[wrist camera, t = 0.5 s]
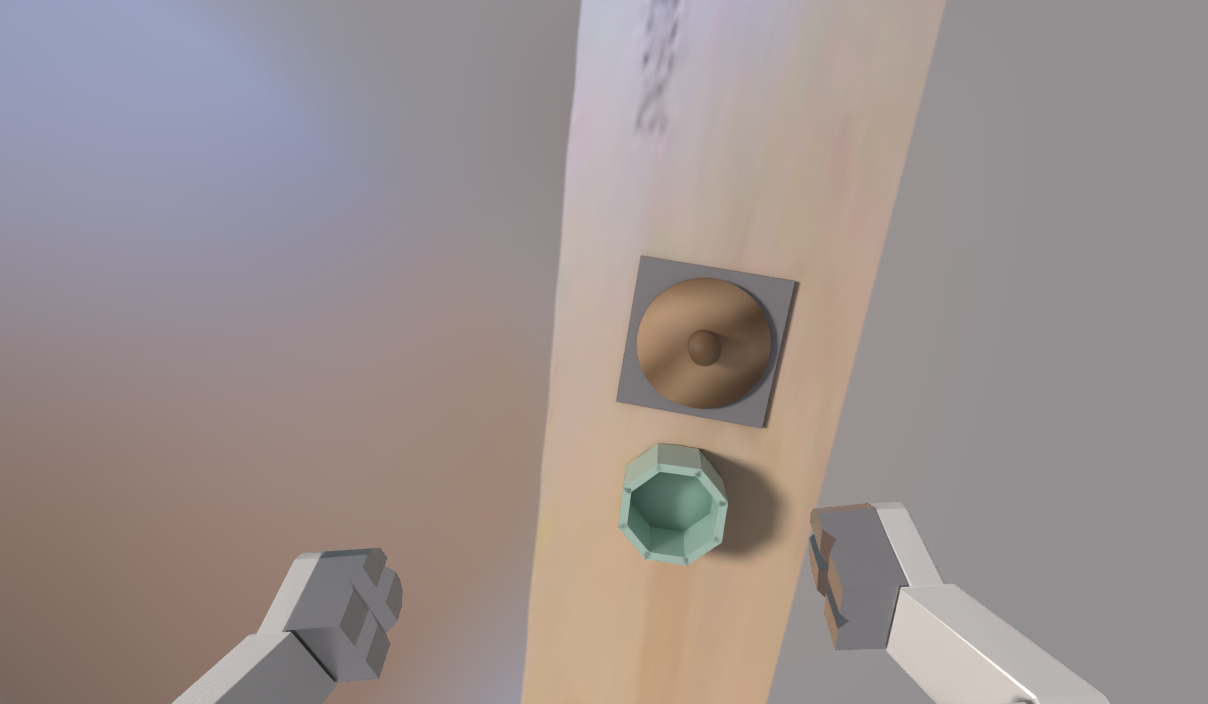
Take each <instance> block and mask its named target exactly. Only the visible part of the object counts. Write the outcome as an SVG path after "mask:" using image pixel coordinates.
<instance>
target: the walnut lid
mask: <svg viewBox="0 0 1208 704" xmlns="http://www.w3.org/2000/svg"><path fill="white" fill-rule="evenodd" d="M770 348H771V337H770V330H769V326H768V323H767V320H766V318H765V315H764V313H763V311H762V310H761V308H760V307H759V305H758V304H757V303H756V302H755V300H754V299H753V298H752V297H751V296H750V295H748V294H747V293H746V292H745V291H743V290H742V289H740V288H739V287H737V286H735V285H733V284H731V283H729V282H726V281H723V280H719V279H714V278H694V279H689V280H685V281H682V282H679V283H677V284H675V285H673V286H671V287H669V288H668V289H666V290H665V291H663V292H662V293H661V294H660V295H658V296H657V297H656V298H655V299H654V301H653V302H652V303H651V304H650V305H649V307H648V308H647V310H646V312H645V314H644V316H643V318H642V320H641V323H640V326H639V330H638V335H637V354H638V359H639V363H640V366H641V368H642V371H643V373H644V374H645V376H646V378H647V379H648V381H649V382H650V384H651V385H652V386H653V387H654V388H655V389H656V390H657V391H658V392H659V393H660V394H661V395H663V396H664V397H666V398H667V399H669V400H670V401H673V402H675V403H677V404H679V405H683V406H686V407H691V408H699V409H706V408H715V407H720V406H723V405H726V404H729V403H731V402H733V401H736V400H737V399H739V398H740V397H742V396H743V395H745V394H746V393H747V392H748V391H750V390H751V389H752V387H753V386H754V385H755V384H756V383H757V382H758V380H759V379H760V377H761V376H762V374H763V372H764V370H765V368H766V365H767V363H768V359H769V355H770Z"/></svg>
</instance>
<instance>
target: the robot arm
mask: <svg viewBox="0 0 1208 704" xmlns="http://www.w3.org/2000/svg"><path fill="white" fill-rule="evenodd" d="M810 523H811V526H812V529H813V532H814V534H813V535H812V536H811V537H810V538H809V555H810V564H811V569H812V573H813V577H814V581H815V584H816V588H817V590H818V591H819V592H820V593H821V594H822V595H823V596H824V597H826V598H825V610H824V615H825V618H826V621H827V624H828V628H829V631H830V634H831V637H832V641H833V644H834V647H835V650H855V649H884V648H887V652H888V653H889V654H890V655H891V656H892V657H893V658H894V659H895V660H896V661H897V663H899V664H900V666H901V667H902V668H903V669H904V670H905V671H906V672H907V673H908V674H909V675H910V676H911V677H912V678H913V679H914V680H915V681H916V682H917V683H918V684H919V685H920V687H921V688H922V689H923V690H924V691H925V692H926V693H927V694H928V695H929V696H930V697H931V698H932V699H933V700H934V701H935V702H936V703H937V704H1110V703H1109V702H1108V700H1107V699H1106V697H1105V696H1104V695H1103V694H1102V693H1100V692H1099V691H1097V690H1096V689H1095V688H1094V687H1092V686H1091V685H1090V684H1088V683H1087V682H1086V681H1084V680H1083V679H1081V678H1080V677H1079V676H1077V675H1076V674H1075V673H1073V672H1072V671H1071V670H1069V669H1068V668H1067V667H1065V666H1064V665H1063V664H1061V663H1060V662H1059V661H1057V660H1056V659H1055V658H1053V657H1052V656H1051V655H1049V654H1048V653H1047V652H1045V651H1044V650H1043V649H1041V648H1040V647H1039V646H1037V645H1036V644H1035V643H1033V642H1032V641H1031V640H1029V639H1028V638H1027V637H1025V636H1024V635H1023V634H1021V633H1020V632H1018V631H1017V630H1016V629H1014V628H1013V627H1012V626H1010V625H1009V624H1008V623H1006V622H1005V621H1004V620H1002V619H1001V618H1000V617H998V616H997V615H996V614H994V613H993V612H992V611H990V610H989V609H988V608H986V607H985V606H984V605H982V604H981V603H980V602H978V601H977V600H975V599H974V598H973V597H972V596H970V595H969V594H967V593H966V592H965V591H964V590H962V589H961V588H959V587H958V586H957V585H956V584H954V583H953V584H945V583H944V581H943V579H942V577H941V575H940V573H939V571H938V569H937V567H936V565H935V563H934V561H933V559H932V557H931V556H930V553H929V552H928V549H927V547H926V546H925V543H924V542H923V540H922V537H921V536H920V533H919V531H918V529H917V528H916V525H915V523H914V522H913V520H912V518H911V516H910V514H909V512H908V510H907V508H906V506H905V505H904V504H903V503H902V502H901V501H895V502H884V503H874V504H868V503H866V504H856V505H847V506H836V507H826V508H817V509H813V510H812V512H811V518H810ZM386 560H387V557H386V556H385V554H384V553H383V551H382V550H381V548H369V549H354V550H338V551H321V552H309V553H302V554H301V555H300V556H299V557H298V558H297V559H296V560H295V561H294V562H293V564H292V566H291V568H290V570H289V572H288V574H287V576H286V578H285V580H284V582H283V584H282V586H281V588H280V590H279V591H278V594H277V595H276V597H275V599H274V602H273V603H272V605H271V607H270V609H269V611H268V613H267V615H266V617H265V619H264V621H263V623H262V625H261V627H260V629H259V630H258V633H257V634H250V635H248V636H247V637H246V638H245V639H244V640H243V641H242V642H241V643H239V645H237V646H236V647H235V648H234V649H233V650H232V651H230V652H229V653H228V654H227V655H226V656H225V657H224V658H223V659H222V660H221V661H219V662H218V663H217V664H216V665H215V666H214V667H213V668H211V669H210V670H209V671H208V672H207V673H206V674H205V675H203V677H201V678H200V679H199V680H198V681H197V682H196V683H194V684H193V685H192V686H191V687H190V688H189V689H188V690H187V691H185V692H184V693H183V694H182V695H181V696H180V697H179V698H177V699H176V700H175V701H174V702H173V703H172V704H322V703H323V702H324V701H325V699H326V698H327V697H328V695H329V694H330V693H331V692H332V691H333V689H334V688H335V687H336V683H339V682H349V681H360V680H371V679H379V677H380V674H381V671H382V668H383V665H384V662H385V659H386V655H387V652H388V649H389V646H390V642H389V639H388V636H387V634H386V632H387V631H388V630H389V629H390V628H391V627H392V626H393V625H394V624H395V623H396V622H397V621H398V617H399V614H400V610H401V607H402V592H403V590H402V586H401V581H400V579H399V577H398V575H397V573H396V572H395V571H393V570H391V569H389V568H388V567H386V566H385V563H386Z"/></svg>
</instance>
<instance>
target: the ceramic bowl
mask: <svg viewBox="0 0 1208 704" xmlns="http://www.w3.org/2000/svg"><path fill="white" fill-rule="evenodd" d="M727 507H728V499H727V495H726V491H725V487H724V482H723V479H722V478H721V476H720V475H719V474H718V473H717V472H716V470H715V469H714V467H713V466H712V464H711V463H710V462H709V461H708V460H707V459H706V458H705V457H704V455H703V454H702V453H701V452H700V450H699V449H697V448H689V447H686V446H682V445H676V444H660V443H658V444H656V445H655V446H654V447H652V448H651V449H649V450H647V451H645V452H644V453H642V454H641V455H640V456H639V457H638V458H637V459H636V460H634V461H633V462H631V463H630V464H629V465H627V467H626V473H625V479H624V485H623V494H622V502H621V511H620V519H619V526H618V528H619V529H620V530H621V531H622V532H623V533H624V535H625V536H626V537H627V538H628V539H629V541H630V542H631V543H632V544H633V545H634V547H635V548H636V549H637V550H638V551H639V553H640V554H641V555H642V556H643V557H644V559H648V560H654V561H661V562H668V563H674V564H681V565H689V564H690V563H692V562H693V561H695V560H696V559H698V558H699V557H701V556H702V555H704V554H705V553H707V552H708V551H710V550H711V549H713V548H714V547H716V546H717V545H719V544H720V543H722V538H723V532H724V525H725V519H726V513H727Z"/></svg>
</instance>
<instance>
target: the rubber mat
mask: <svg viewBox="0 0 1208 704" xmlns="http://www.w3.org/2000/svg"><path fill="white" fill-rule="evenodd" d="M694 278H714V279H719V280H723V281H726V282H729V283H731V284H733V285H735V286H737V287H739V288H740V289H742V290H743V291H745V292H746V293H747V294H748V295H750V296H751V297H752V298H753V299H754V300H755V302H756V303H757V304H758V305H759V307H760V308H761V310H762V311H763V313H764V315H765V318H766V320H767V323H768V326H769V330H770V337H771V348H770V355H769V359H768V363H767V365H766V368H765V370H764V372H763V374H762V376H761V377H760V379H759V380H758V382H757V383H756V384H755V385H754V386H753V387H752V389H751V390H750V391H748V392H747V393H746V394H745V395H743V396H742V397H740V398H739V399H737V400H736V401H733V402H731V403H729V404H726V405H723V406H720V407H715V408H706V409H699V408H691V407H686V406H683V405H679V404H677V403H675V402H673V401H670V400H669V399H667V398H666V397H664V396H663V395H661V394H660V393H659V392H658V391H657V390H656V389H655V388H654V387H653V386H652V385H651V384H650V382H649V381H648V379H647V378H646V376H645V374H644V373H643V371H642V368H641V366H640V363H639V359H638V354H637V335H638V330H639V326H640V323H641V320H642V318H643V316H644V314H645V312H646V310H647V308H648V307H649V305H650V304H651V303H652V302H653V301H654V299H655V298H656V297H657V296H658V295H660V294H661V293H662V292H663V291H665V290H666V289H668V288H669V287H671V286H673V285H675V284H677V283H679V282H682V281H685V280H689V279H694ZM794 284H795V281H791V280H785V279H779V278H773V277H767V276H761V275H755V274H749V273H743V272H737V271H731V270H725V269H719V268H713V267H707V266H701V265H695V264H689V263H683V262H677V261H671V260H665V259H659V258H653V257H646V256H641V258H640V264H639V270H638V276H637V282H636V288H635V293H634V299H633V305H632V311H631V317H630V323H629V329H628V335H627V340H626V346H625V352H624V358H623V364H622V370H621V376H620V382H619V387H618V393H617V399H616V402H621V403H627V404H632V405H638V406H643V407H649V408H654V409H660V410H665V411H670V412H676V413H681V414H687V415H692V416H698V417H703V418H709V419H714V420H720V421H725V422H731V423H736V424H742V425H747V426H753V427H758V428H762V426H763V422H764V417H765V413H766V408H767V404H768V399H769V395H770V391H771V386H772V382H773V377H774V373H775V368H776V364H777V359H778V355H779V350H780V346H781V342H782V337H783V333H784V328H785V324H786V319H787V315H788V310H789V306H790V301H791V297H792V293H793V288H794Z"/></svg>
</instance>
